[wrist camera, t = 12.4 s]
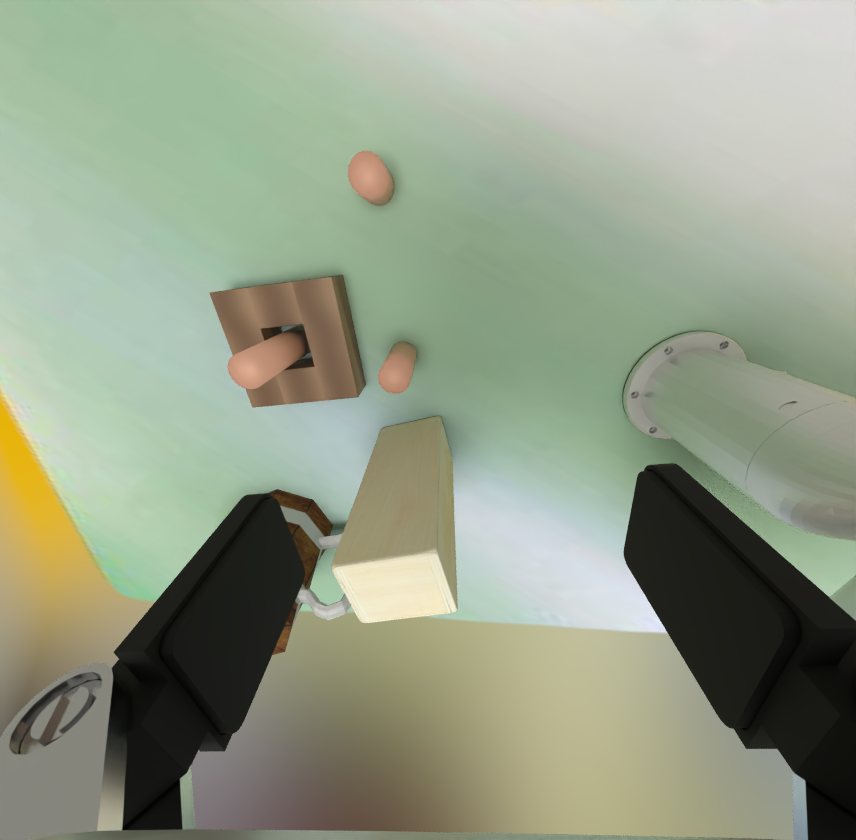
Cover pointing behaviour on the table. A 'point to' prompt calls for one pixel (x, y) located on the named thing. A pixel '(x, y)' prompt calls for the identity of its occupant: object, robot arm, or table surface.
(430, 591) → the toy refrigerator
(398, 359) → the pin medium
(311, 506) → the mug
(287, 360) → the pin long
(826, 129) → the table surface
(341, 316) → the hole block
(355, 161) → the pin short
